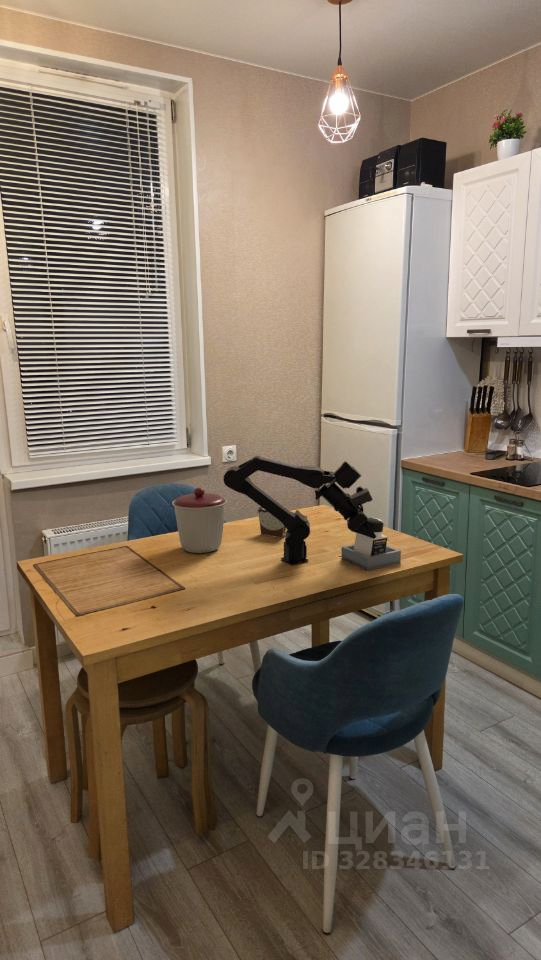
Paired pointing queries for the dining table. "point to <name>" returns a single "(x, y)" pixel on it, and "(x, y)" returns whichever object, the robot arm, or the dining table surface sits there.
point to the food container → (270, 524)
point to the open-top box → (371, 558)
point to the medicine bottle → (371, 539)
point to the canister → (200, 520)
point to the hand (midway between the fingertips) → (373, 533)
